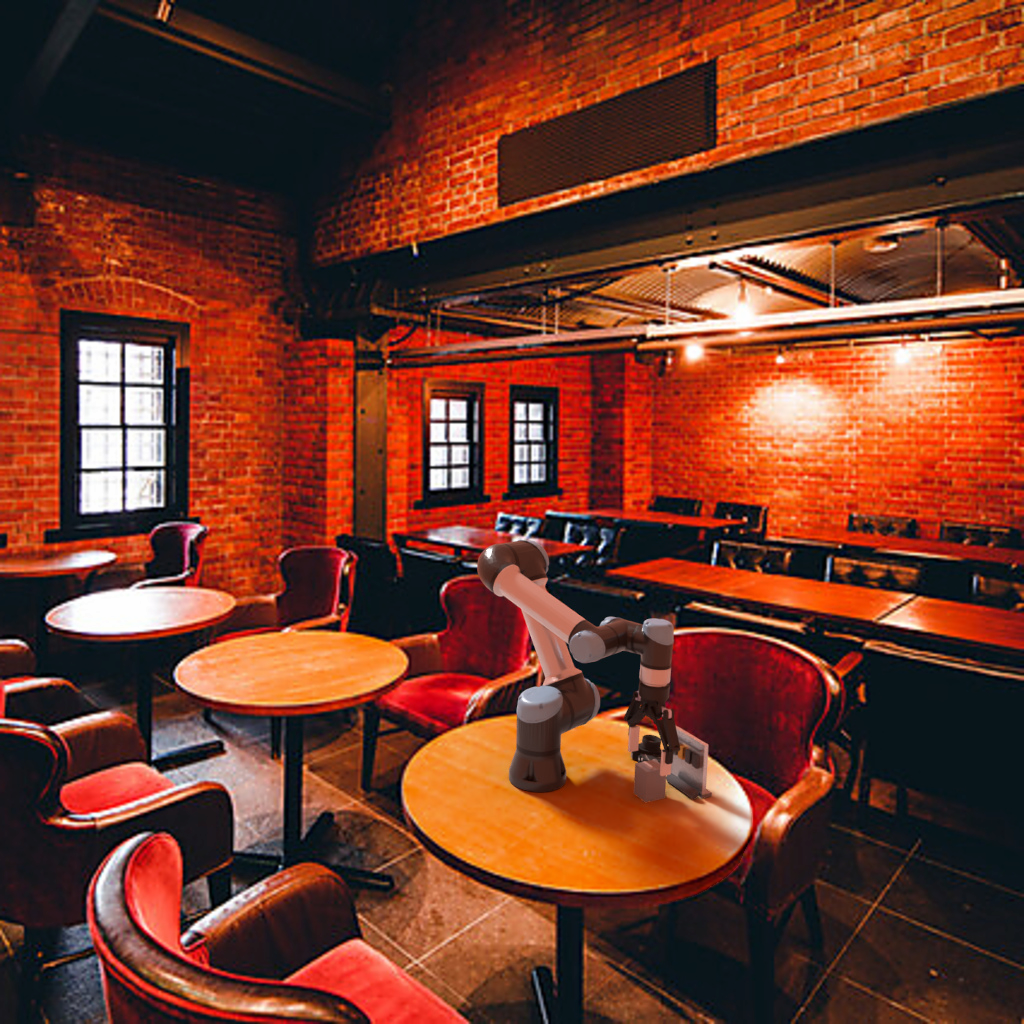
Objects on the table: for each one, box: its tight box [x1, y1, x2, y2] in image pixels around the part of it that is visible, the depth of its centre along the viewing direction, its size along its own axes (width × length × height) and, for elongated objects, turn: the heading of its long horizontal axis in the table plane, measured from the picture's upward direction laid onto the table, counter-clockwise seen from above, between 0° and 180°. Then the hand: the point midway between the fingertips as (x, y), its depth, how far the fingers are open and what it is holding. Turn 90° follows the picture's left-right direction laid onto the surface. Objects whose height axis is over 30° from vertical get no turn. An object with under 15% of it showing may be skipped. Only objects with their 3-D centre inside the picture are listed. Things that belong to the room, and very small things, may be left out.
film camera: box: [630, 734, 663, 764], centre depth 205 cm, size 13×8×10 cm
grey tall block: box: [633, 760, 667, 803], centre depth 185 cm, size 7×5×9 cm
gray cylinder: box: [666, 773, 699, 800], centre depth 188 cm, size 10×2×2 cm, turn 26°
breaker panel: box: [671, 725, 713, 799], centre depth 190 cm, size 4×13×14 cm, turn 26°
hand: (648, 762), depth 185 cm, fingers open, 13 cm apart
